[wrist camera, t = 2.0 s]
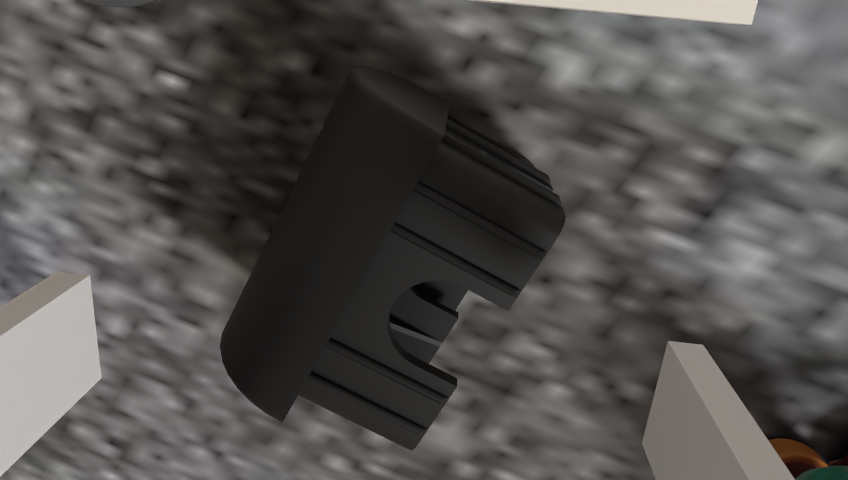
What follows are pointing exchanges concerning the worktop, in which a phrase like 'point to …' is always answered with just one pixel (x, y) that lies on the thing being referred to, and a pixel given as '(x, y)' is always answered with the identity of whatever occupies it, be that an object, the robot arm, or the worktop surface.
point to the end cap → (385, 259)
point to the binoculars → (808, 462)
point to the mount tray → (656, 8)
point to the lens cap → (119, 2)
